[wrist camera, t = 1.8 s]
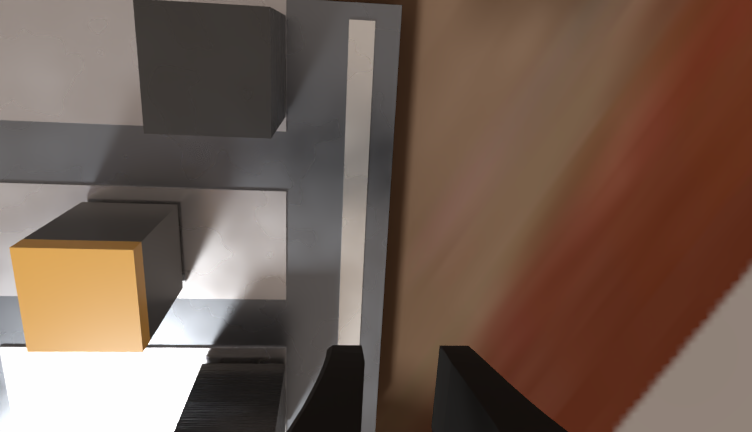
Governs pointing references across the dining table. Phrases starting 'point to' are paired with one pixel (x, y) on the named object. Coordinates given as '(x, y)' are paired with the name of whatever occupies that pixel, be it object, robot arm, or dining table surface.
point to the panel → (204, 198)
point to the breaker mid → (98, 277)
